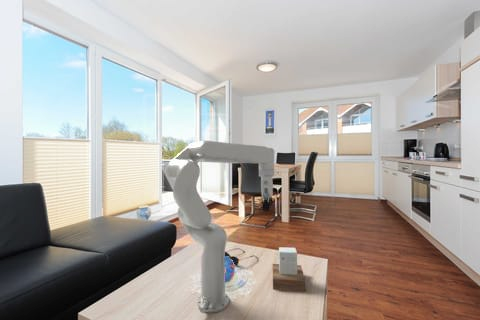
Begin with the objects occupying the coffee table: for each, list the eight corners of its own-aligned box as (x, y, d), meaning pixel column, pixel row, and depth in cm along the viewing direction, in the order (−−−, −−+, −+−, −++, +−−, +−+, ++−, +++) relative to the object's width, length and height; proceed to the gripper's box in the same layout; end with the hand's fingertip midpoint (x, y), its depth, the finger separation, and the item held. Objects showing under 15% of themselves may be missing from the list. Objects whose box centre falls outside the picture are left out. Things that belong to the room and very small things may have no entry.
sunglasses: (222, 259, 129) (222, 250, 129) (243, 253, 139) (243, 245, 140) (238, 268, 118) (238, 259, 119) (259, 260, 129) (259, 252, 129)
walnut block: (305, 292, 98) (305, 281, 98) (272, 290, 100) (272, 279, 99) (301, 275, 112) (301, 265, 111) (272, 273, 113) (272, 263, 113)
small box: (295, 269, 108) (295, 247, 107) (297, 275, 102) (297, 252, 102) (278, 268, 109) (278, 246, 108) (279, 274, 103) (279, 251, 103)
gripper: (273, 174, 101) (273, 212, 101) (274, 171, 118) (275, 204, 118) (256, 174, 102) (257, 212, 102) (260, 171, 119) (260, 204, 119)
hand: (266, 208), depth 110 cm, fingers open, 9 cm apart
